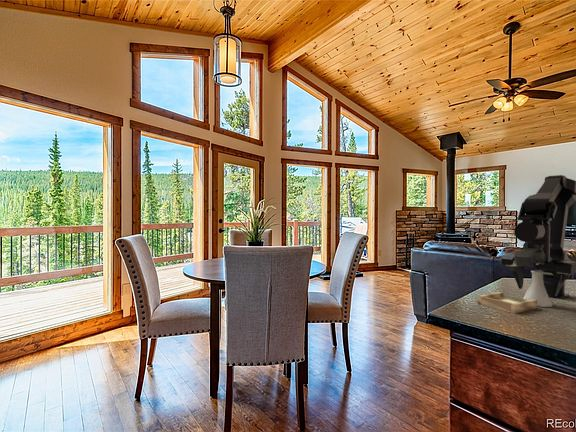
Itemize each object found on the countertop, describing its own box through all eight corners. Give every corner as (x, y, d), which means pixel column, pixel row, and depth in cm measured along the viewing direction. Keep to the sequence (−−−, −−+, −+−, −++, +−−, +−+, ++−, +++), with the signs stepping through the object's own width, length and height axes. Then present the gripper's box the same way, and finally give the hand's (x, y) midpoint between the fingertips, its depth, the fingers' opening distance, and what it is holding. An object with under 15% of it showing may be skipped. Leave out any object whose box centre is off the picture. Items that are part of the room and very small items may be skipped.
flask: (557, 308, 95) (558, 273, 95) (529, 307, 97) (529, 272, 97) (543, 301, 102) (544, 269, 102) (517, 300, 104) (518, 268, 104)
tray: (499, 299, 105) (499, 291, 105) (537, 308, 96) (537, 299, 95) (477, 303, 100) (477, 295, 100) (514, 313, 91) (514, 304, 90)
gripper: (490, 238, 104) (489, 288, 104) (560, 244, 87) (560, 303, 88) (510, 237, 109) (510, 284, 109) (581, 242, 92) (580, 298, 93)
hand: (537, 292), depth 100 cm, fingers open, 9 cm apart
